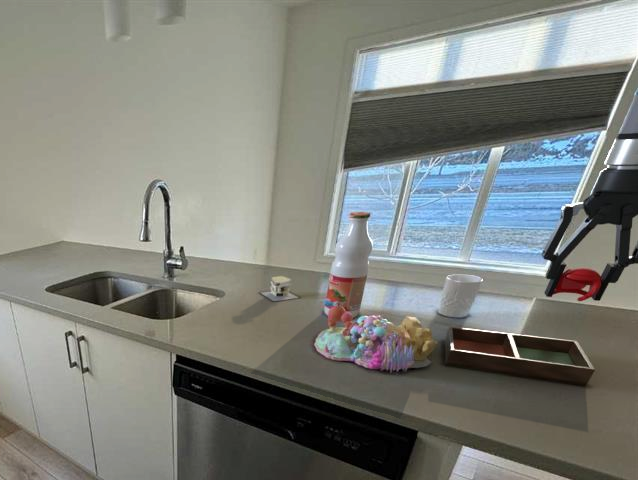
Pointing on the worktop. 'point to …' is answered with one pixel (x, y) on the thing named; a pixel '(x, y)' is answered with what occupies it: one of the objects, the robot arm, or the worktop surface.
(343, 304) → the fruit juice
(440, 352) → the worktop surface
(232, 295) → the worktop surface
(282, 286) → the stacked layers on plate
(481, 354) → the sorting tray
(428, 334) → the candy landscape model
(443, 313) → the white cup
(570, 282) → the red curved piece
